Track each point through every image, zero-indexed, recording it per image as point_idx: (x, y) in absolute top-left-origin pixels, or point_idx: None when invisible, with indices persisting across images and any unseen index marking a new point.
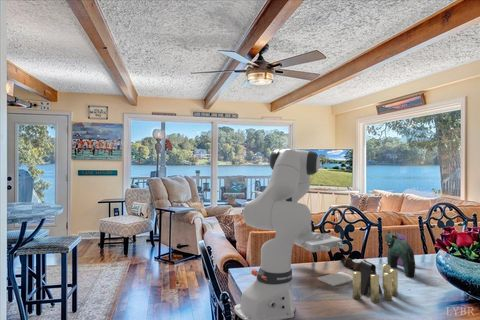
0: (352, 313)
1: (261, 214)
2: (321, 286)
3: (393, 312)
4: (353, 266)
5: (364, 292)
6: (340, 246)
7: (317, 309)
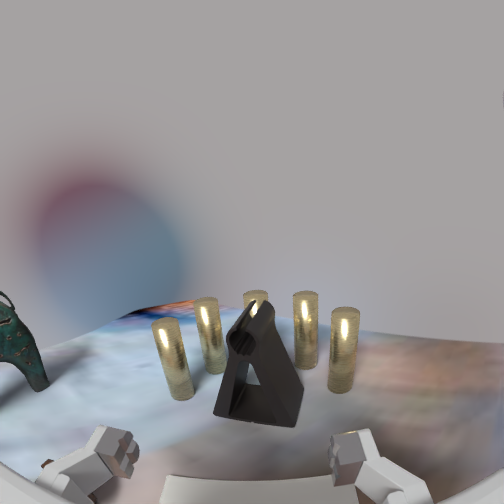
0: (403, 340)
1: None
2: None
3: None
4: None
5: (300, 384)
6: (125, 458)
7: (473, 357)
